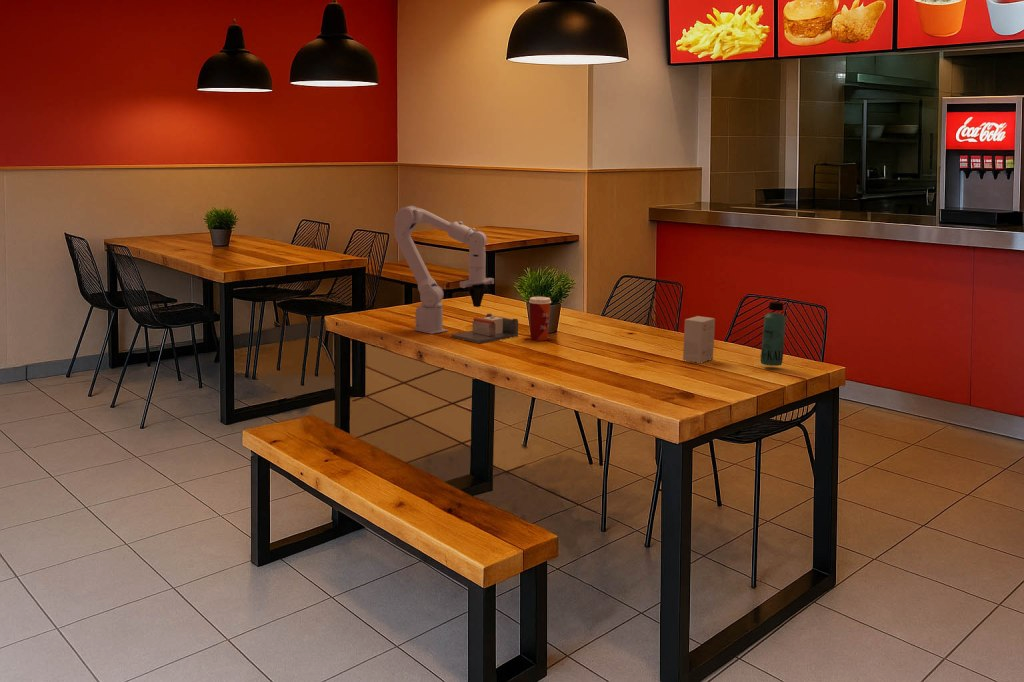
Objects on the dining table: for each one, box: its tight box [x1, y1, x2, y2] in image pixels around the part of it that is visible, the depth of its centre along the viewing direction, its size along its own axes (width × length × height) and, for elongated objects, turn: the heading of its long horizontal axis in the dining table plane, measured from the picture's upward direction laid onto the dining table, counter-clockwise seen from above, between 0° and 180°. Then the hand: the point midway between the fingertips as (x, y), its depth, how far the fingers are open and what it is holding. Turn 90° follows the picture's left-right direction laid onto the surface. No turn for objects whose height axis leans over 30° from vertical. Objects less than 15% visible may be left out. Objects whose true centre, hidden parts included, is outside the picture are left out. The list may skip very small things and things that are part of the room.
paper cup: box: [528, 296, 552, 342], centre depth 310 cm, size 8×8×14 cm
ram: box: [472, 317, 496, 336], centre depth 313 cm, size 9×3×5 cm, turn 47°
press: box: [450, 313, 519, 344], centre depth 313 cm, size 14×18×6 cm
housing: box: [481, 315, 504, 334], centre depth 316 cm, size 5×5×6 cm
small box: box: [682, 315, 716, 364], centre depth 283 cm, size 8×6×13 cm
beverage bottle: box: [759, 301, 787, 367], centre depth 273 cm, size 6×7×20 cm
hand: (476, 306), depth 317 cm, fingers closed
